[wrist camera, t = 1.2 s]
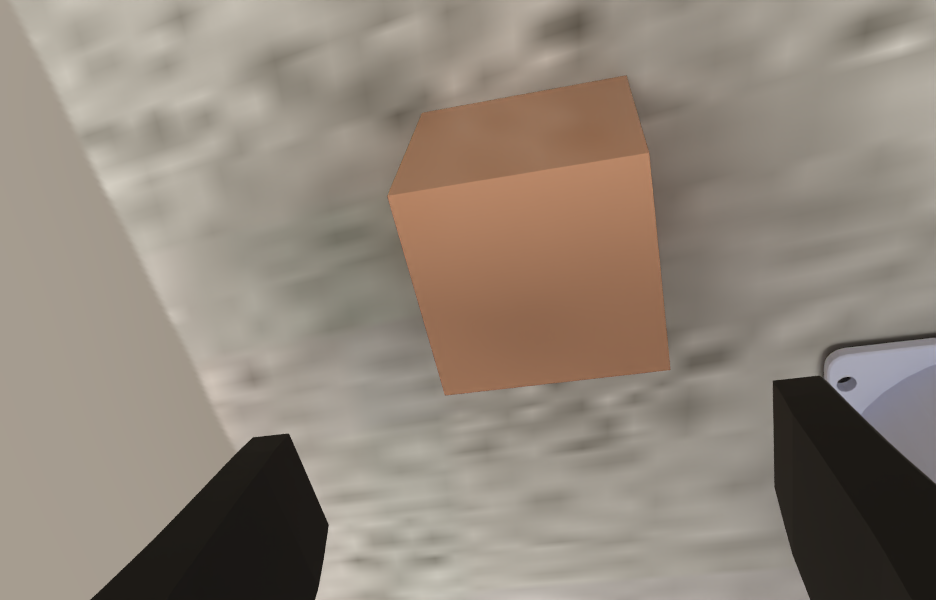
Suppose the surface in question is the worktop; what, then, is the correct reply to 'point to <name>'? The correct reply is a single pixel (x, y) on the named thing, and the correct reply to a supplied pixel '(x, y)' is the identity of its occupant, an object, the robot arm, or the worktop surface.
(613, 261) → the terracotta cube
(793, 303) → the worktop surface
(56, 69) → the worktop surface
